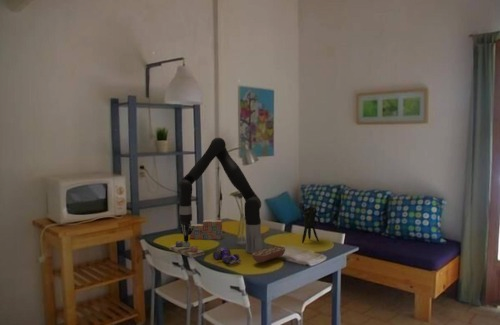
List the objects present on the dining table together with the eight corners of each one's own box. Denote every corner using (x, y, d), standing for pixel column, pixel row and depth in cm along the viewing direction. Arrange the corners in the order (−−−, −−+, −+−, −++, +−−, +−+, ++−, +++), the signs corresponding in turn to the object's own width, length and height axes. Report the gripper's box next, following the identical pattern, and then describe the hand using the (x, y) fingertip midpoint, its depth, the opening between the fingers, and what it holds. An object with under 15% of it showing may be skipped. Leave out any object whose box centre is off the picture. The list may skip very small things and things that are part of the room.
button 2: (191, 246, 243) (191, 242, 243) (185, 247, 240) (185, 243, 240) (187, 245, 246) (187, 240, 246) (181, 246, 243) (181, 242, 243)
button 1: (199, 251, 237) (199, 246, 237) (193, 252, 234) (193, 248, 234) (195, 249, 240) (194, 245, 240) (188, 251, 237) (188, 246, 237)
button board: (204, 254, 237) (204, 251, 237) (191, 257, 231) (191, 254, 231) (182, 246, 255) (181, 243, 255) (169, 249, 249) (169, 246, 249)
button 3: (184, 245, 249) (184, 241, 249) (178, 247, 246) (178, 243, 246) (180, 244, 252) (180, 240, 252) (174, 245, 249) (174, 241, 249)
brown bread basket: (260, 265, 216) (260, 256, 216) (247, 261, 224) (247, 253, 223) (288, 256, 232) (288, 248, 232) (275, 253, 239) (275, 245, 239)
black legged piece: (310, 238, 273) (310, 201, 271) (325, 240, 265) (325, 203, 264) (293, 243, 259) (293, 205, 257) (308, 247, 251) (308, 207, 250)
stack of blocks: (189, 239, 274) (189, 221, 274) (191, 237, 281) (191, 219, 280) (220, 239, 273) (220, 221, 272) (222, 237, 279) (222, 219, 278)
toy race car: (230, 265, 218) (229, 253, 218) (212, 259, 229) (212, 248, 229) (242, 261, 225) (242, 249, 225) (225, 255, 236) (225, 244, 235)
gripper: (197, 213, 239) (197, 242, 241) (185, 210, 249) (185, 238, 250) (186, 215, 234) (187, 244, 236) (174, 212, 244) (175, 240, 245)
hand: (186, 241), depth 243 cm, fingers closed
